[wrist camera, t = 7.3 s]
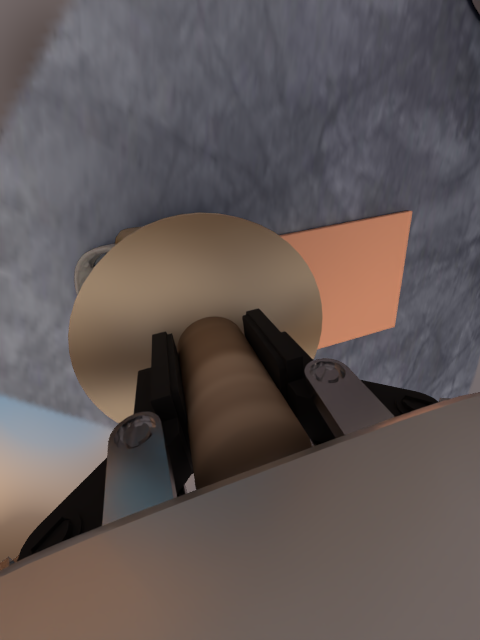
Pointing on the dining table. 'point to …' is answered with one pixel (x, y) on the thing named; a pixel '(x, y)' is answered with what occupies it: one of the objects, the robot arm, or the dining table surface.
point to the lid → (199, 332)
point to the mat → (356, 273)
